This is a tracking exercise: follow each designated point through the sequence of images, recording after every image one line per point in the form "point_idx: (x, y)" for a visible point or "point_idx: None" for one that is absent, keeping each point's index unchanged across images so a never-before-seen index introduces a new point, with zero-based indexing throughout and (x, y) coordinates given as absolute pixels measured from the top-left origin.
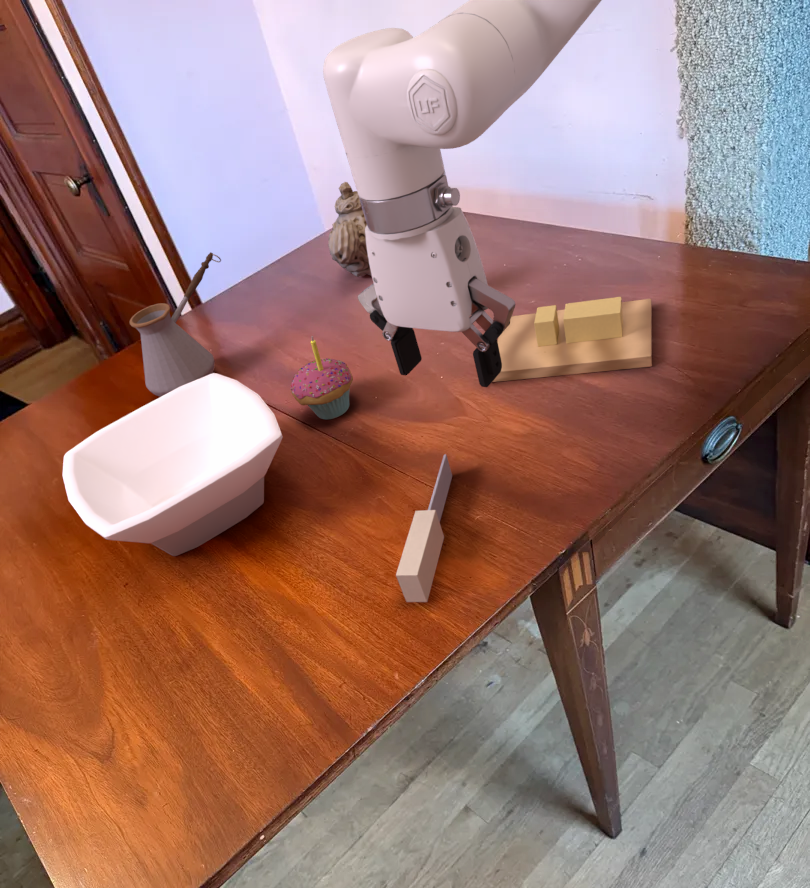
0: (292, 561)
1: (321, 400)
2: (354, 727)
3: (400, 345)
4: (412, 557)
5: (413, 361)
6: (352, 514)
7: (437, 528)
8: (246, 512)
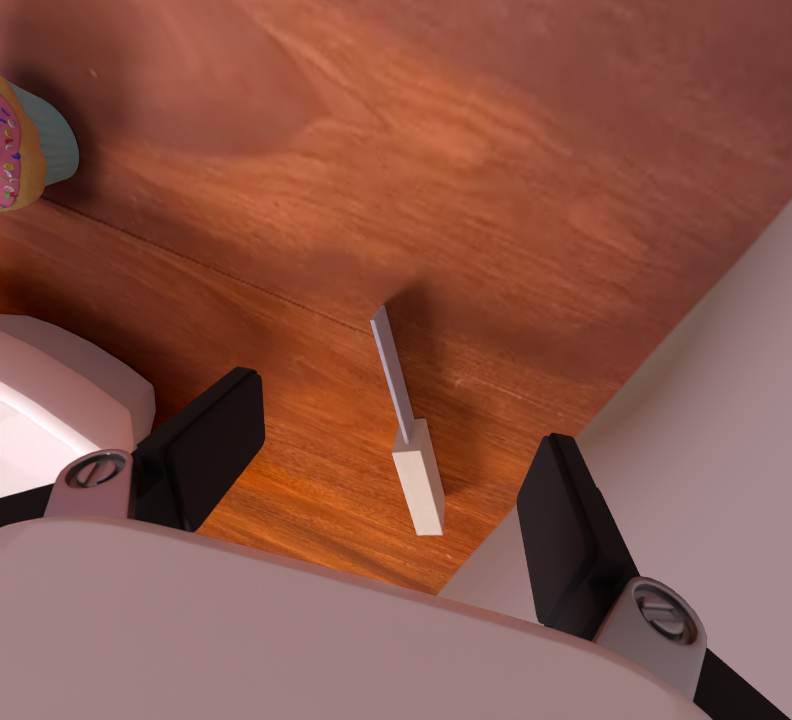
0: (264, 459)
1: (26, 201)
2: (434, 588)
3: (201, 514)
4: (425, 515)
5: (252, 417)
6: (282, 391)
7: (425, 446)
8: (152, 414)
